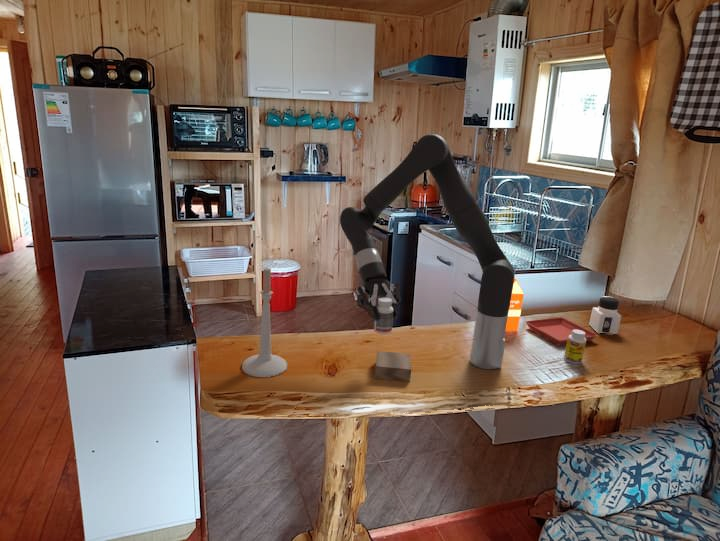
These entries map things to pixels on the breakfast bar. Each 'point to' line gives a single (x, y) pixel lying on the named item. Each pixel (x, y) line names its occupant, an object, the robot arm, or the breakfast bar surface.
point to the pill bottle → (384, 316)
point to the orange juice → (515, 307)
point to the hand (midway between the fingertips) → (387, 318)
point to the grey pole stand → (265, 341)
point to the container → (606, 316)
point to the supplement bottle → (575, 347)
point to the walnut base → (393, 366)
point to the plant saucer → (557, 329)
